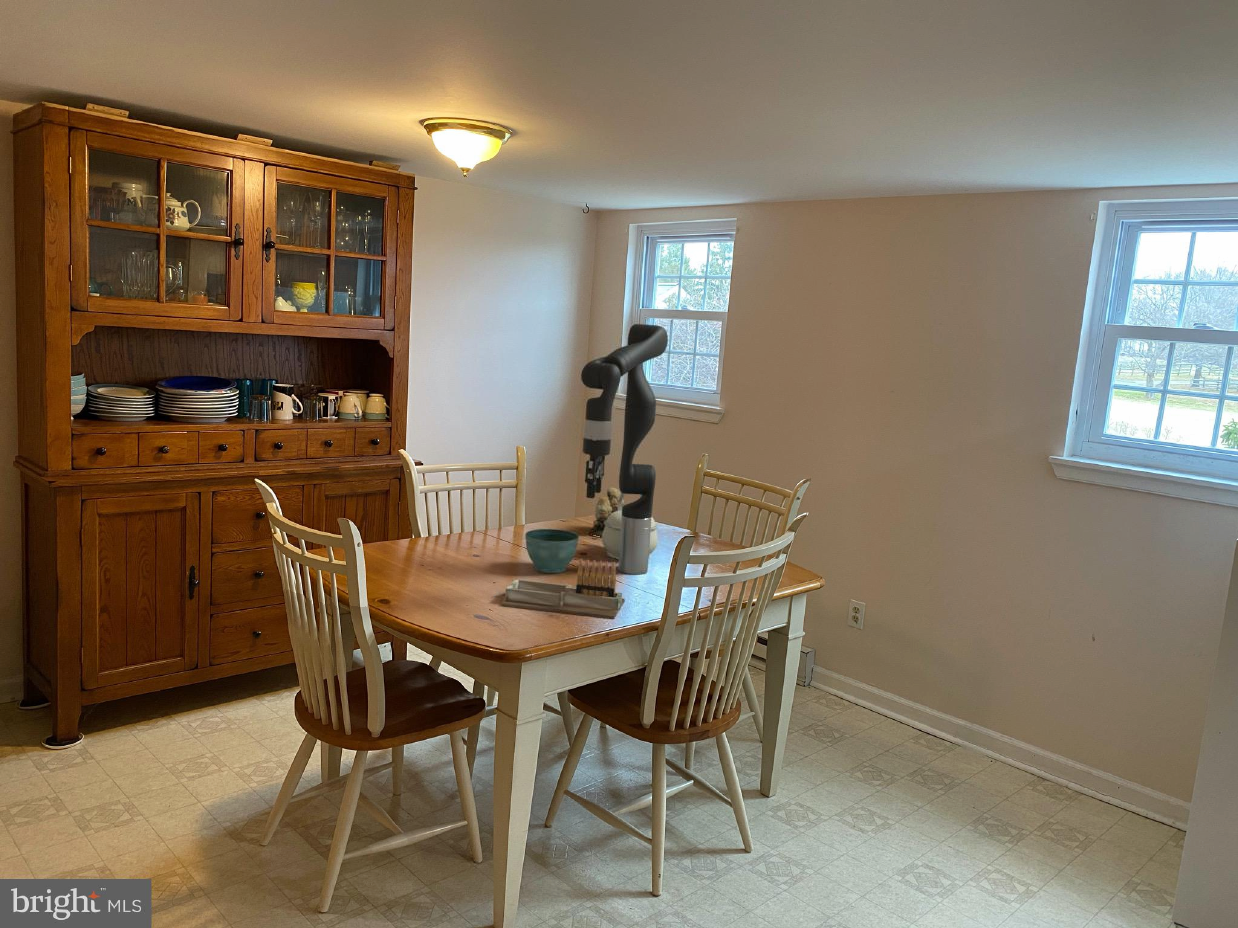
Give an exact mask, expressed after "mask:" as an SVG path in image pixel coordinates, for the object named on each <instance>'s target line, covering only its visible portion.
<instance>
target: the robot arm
mask: <svg viewBox="0 0 1238 928" xmlns="http://www.w3.org/2000/svg"><path fill="white" fill-rule="evenodd" d="M668 338H669V337H668V333H667V330H666V329H665V327H664V326H661V325H657V324H655V325H654V324H645V323H644V324H642V323H635V324H632V325H631V326H630V329H629V331H628V335H627V344H626V345H624V346H621V347H618V348H617V349H615V350H613V351H612V352H611V353H609V354H607V355H606V356H602V357H599V358H596V359H593V360H591V361H589V362H587V363H586V364H585V365H584V366H583V368H582V370H581V372H580V373H581V374H580V378H581V382H582V384H583V385H584V386H585V387H586V388H589V389H594V390H595V389H597V390H602V392H601V394H600V396H598V397H597V396H596V397H590V398H589V399H587V401H586V403H585V404H586V406H585V407H586V408H585V418H584V419H585V420H584V425H583V426H584V427H583V436H582V438H583V439H582V453H583V454H584V455H589V460H586V461H585V477H584V482H585V483H586V498H587V499H595V497H596V494H600V493H601V492H602V480H603V478H604V476H605V464H606V463H605V461H606V456H609V455H610V454H611V445H612V415H613V414H612V412H613V404H614V402H615V397H616V394H617V391H618V389H619V386H620V383H621V378H622V377H623V376H624V375H626V374H627V379H626V380H627V382H626V393H625V394H626V395H625V404H624V405H625V407H624V421H623V422H624V423H623V424H624V425H623V441H622V442H623V444H622V452H621V458H620V466H619V467H620V468H619V476H618V488H619V489H618V490H619V491H620V493H623V494H625V495H640V494H641V497H640V496H639V498H638V499H637V500H635V501H632V502H629V503H625V504H624V506H623V508H622V516H621V532H620V547H619V560H618V562H617V563H618V565H617V570H618V571H619V572H621V573H624V574H630V575H641V574H647V573H648V571H649V559H650V558H649V546H650V531H651V517H652V518H653V516H652V514H653V505H654V495H655V487H656V480H657V479H656V476H657V475H656V469H655V467H654V466H653V465H652V464H645V463H643V464H641V463H640V464H639V463H633V461H634V457H635V455H636V452H637V450H638V448H639V446H640V444H641V443H642V442H643V441H644V439H645V438H646V437H647V435H648V434H649V433H650V431H651V430H652V428H653V426H654V424H655V421H656V408H657V407H656V406H657V400H656V399H657V398H656V397H655V394H654V391H653V389H652V387H651V386H650V385H651V384H650V383H649V382H648V379H647V377H646V375H645V372H644V363H646V362H648V361H650V360H652V359H655V358H658V357H659V356H662V355H663V354H664V353H665V351H666V350H667V347H668V344H669V343H668V341H669V339H668Z"/></svg>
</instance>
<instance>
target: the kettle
mask: <svg viewBox="0 0 1238 928" xmlns="http://www.w3.org/2000/svg"><path fill="white" fill-rule="evenodd" d="M620 493H621V492H620ZM625 495H626V494H623V493H621V494H620V497H619V500H618V511H616V512H614V513H612V514H611V515H610V516H609V517H608V519H607V520H605V521H604V524H605V525H606V526H605V528H604V531H603V534H602V538H601V543H602V545H603V548H604V549H605V550H606V551H607V552H606V553H607V556H608V555H609V556H608V557H609V558H611V557H612V559H614V558H616V559H615V560H617V559H619V547H620V532H621V516H622V500H624V497H625ZM640 497H641V494H639V498H640ZM658 527H659V526H658V524H657V523H656V522H655V519H654V518H653V516H652V517H651V531H650V546H649V557H650V558H651V554H652V553H653V552H654V551H655V550H656V549H657V546H658V543H659V536H658V532H657V529H658Z"/></svg>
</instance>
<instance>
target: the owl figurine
mask: <svg viewBox="0 0 1238 928" xmlns="http://www.w3.org/2000/svg"><path fill="white" fill-rule="evenodd" d="M620 494H621V491H620V489H617V488H615V487H609V488H607V491H606V495H607V497H606V496H599V497H598V501H597V503H596V506H595V511H594V513H595V514H594V516H595V519H596V520H593V525H592V528H590V529H589V532H588V534H589V533H590V534H592V535H596V536H600V537H602V534H603V531H604V528H605V526H606V525H605V524H604V521H605V520H607V519H608V517H609V516H610V515H611V514H612V513H614V512H616V511H618V500H619V497H620ZM624 505H625V500H624V499H623V500H622V508H623V506H624ZM590 534H589V535H590Z"/></svg>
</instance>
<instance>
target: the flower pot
mask: <svg viewBox="0 0 1238 928" xmlns="http://www.w3.org/2000/svg"><path fill="white" fill-rule="evenodd" d="M524 537H525V548H526V551H527V554H528V556H529V558H530V560H531V563H533V565H534V569H535V570H536V571H538V572H541V573H547V574H558V573H559V574H560V573H564V572H565V571H566V570H567V567H568V565H569V564H570V563H571V561H572V560H573V558H574V557H575V555H576V551H577V548H578V543H579V539H580V537H579V534H578V533H577V532H574V531H570V530H565V529H557V528H537V529H533V530H528V531H527V532H525V534H524Z"/></svg>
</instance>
